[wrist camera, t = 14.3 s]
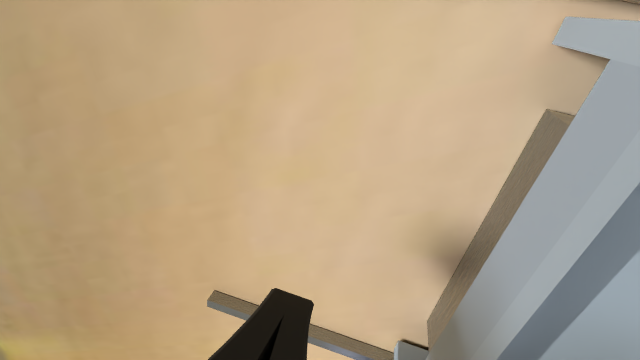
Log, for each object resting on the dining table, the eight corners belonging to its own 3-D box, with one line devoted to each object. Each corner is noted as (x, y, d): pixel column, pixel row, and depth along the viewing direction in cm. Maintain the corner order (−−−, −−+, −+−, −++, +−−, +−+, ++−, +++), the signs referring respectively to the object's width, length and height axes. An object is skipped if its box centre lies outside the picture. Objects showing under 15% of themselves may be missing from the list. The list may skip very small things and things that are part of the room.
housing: (573, 411, 18) (650, 601, 12) (394, 348, 19) (387, 494, 13) (946, 97, 9) (1883, 255, 3) (566, 16, 10) (764, 28, 4)
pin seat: (567, 421, 18) (592, 488, 16) (213, 296, 21) (186, 336, 18) (1014, 51, 8) (1280, 70, 6) (228, -102, 11) (171, -136, 8)
